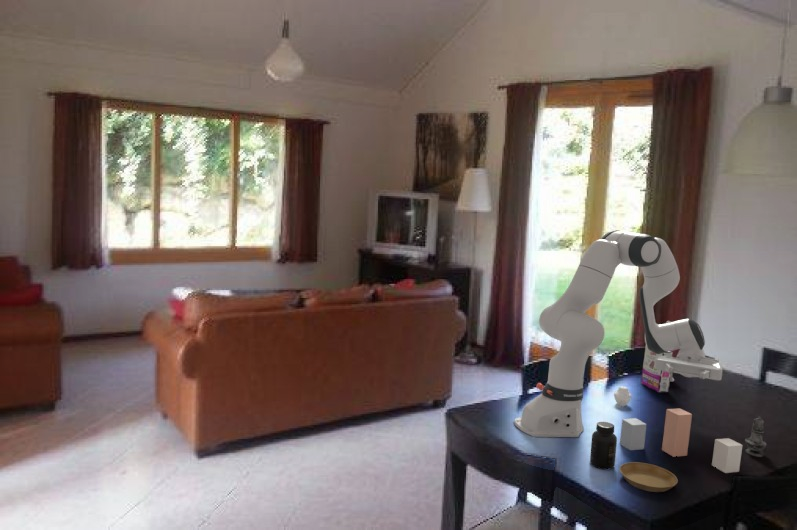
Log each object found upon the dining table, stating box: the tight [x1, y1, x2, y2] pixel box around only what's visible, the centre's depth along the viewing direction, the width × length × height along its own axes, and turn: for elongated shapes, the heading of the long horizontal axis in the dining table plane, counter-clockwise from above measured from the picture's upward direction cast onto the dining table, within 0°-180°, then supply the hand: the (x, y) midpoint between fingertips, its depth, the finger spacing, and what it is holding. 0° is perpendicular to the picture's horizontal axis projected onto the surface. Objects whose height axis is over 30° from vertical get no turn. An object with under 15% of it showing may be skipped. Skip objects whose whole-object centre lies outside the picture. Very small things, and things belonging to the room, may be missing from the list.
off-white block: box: [711, 437, 744, 474], centre depth 185 cm, size 5×5×8 cm
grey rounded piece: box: [613, 386, 632, 407], centre depth 235 cm, size 6×6×7 cm
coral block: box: [661, 407, 693, 458], centre depth 194 cm, size 5×5×13 cm
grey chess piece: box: [744, 415, 767, 458], centre depth 197 cm, size 6×6×12 cm
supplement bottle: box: [589, 421, 618, 470], centre depth 183 cm, size 7×7×12 cm
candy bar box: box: [640, 345, 674, 393], centre depth 257 cm, size 11×5×16 cm, turn 17°
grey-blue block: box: [619, 417, 647, 451], centre depth 197 cm, size 5×5×8 cm
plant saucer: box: [619, 461, 679, 493], centre depth 174 cm, size 15×15×3 cm
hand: (686, 373), depth 203 cm, fingers open, 8 cm apart
